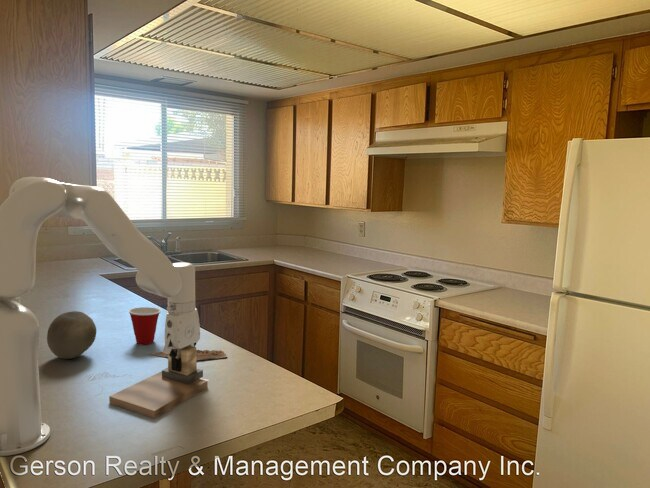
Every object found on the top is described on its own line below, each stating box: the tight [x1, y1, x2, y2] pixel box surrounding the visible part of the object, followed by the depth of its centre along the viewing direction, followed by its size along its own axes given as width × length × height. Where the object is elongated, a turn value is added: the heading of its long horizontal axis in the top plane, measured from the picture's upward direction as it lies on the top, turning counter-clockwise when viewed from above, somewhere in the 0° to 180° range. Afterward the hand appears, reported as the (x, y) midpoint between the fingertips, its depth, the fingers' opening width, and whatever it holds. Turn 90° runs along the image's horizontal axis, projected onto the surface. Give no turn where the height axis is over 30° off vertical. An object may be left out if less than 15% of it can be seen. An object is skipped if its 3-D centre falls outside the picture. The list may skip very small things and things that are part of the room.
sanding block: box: [161, 346, 204, 384], centre depth 139 cm, size 6×10×9 cm, turn 64°
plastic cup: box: [128, 306, 162, 346], centre depth 172 cm, size 11×11×12 cm
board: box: [108, 370, 208, 419], centre depth 132 cm, size 20×16×2 cm
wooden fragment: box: [150, 349, 228, 361], centre depth 161 cm, size 26×11×1 cm, turn 85°
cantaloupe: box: [46, 310, 97, 360], centre depth 156 cm, size 14×14×15 cm
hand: (182, 367), depth 140 cm, fingers closed on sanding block, 4 cm apart
